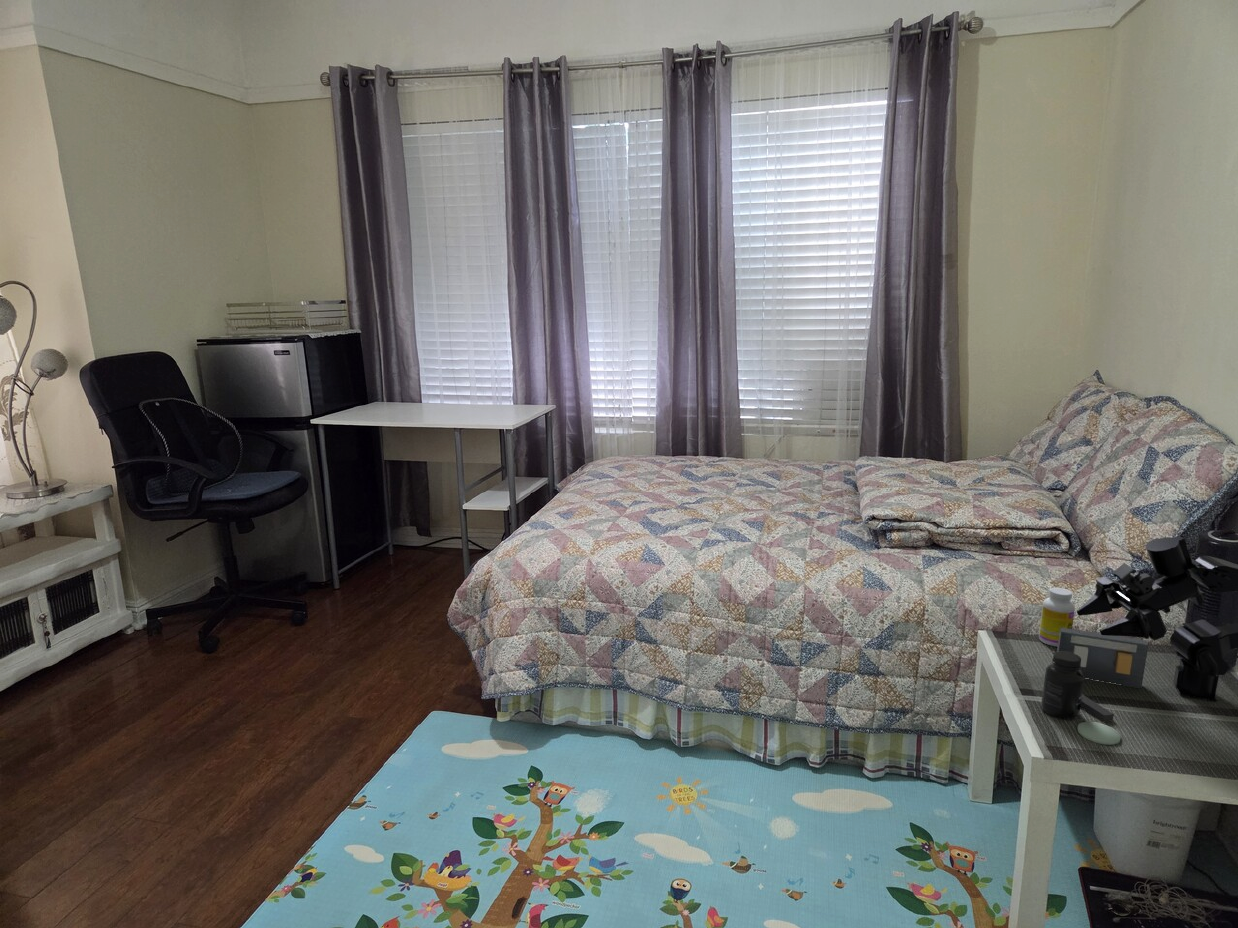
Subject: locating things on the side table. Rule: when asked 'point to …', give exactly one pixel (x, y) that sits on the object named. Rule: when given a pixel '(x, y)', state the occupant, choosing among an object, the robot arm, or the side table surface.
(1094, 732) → the pad
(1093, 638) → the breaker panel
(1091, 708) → the dark grey slat
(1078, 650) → the paddle
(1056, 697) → the supplement bottle
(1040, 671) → the side table surface
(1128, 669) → the paddle main
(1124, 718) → the side table surface
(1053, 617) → the supplement bottle
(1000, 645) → the side table surface
